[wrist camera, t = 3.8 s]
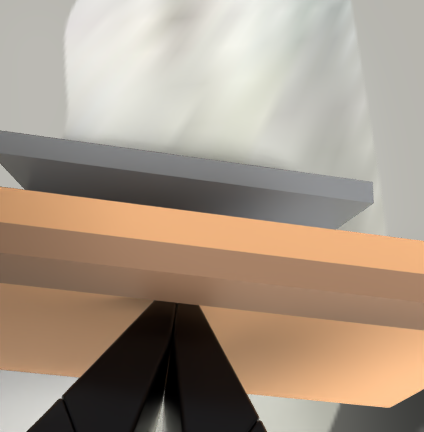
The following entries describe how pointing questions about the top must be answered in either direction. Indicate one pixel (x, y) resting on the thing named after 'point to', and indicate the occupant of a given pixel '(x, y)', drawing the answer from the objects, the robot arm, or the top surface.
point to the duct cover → (213, 294)
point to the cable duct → (181, 182)
